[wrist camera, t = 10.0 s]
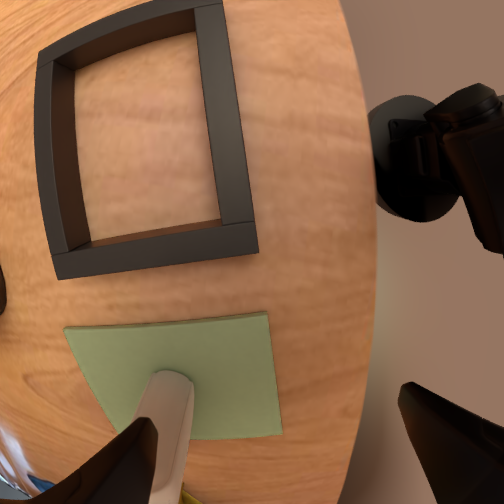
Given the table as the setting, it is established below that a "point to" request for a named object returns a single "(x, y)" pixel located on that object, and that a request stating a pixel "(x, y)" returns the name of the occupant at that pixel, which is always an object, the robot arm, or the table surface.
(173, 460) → the cream rounded block
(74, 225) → the dark rectangular frame
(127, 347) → the mat
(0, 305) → the pillar candle
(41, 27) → the table surface
